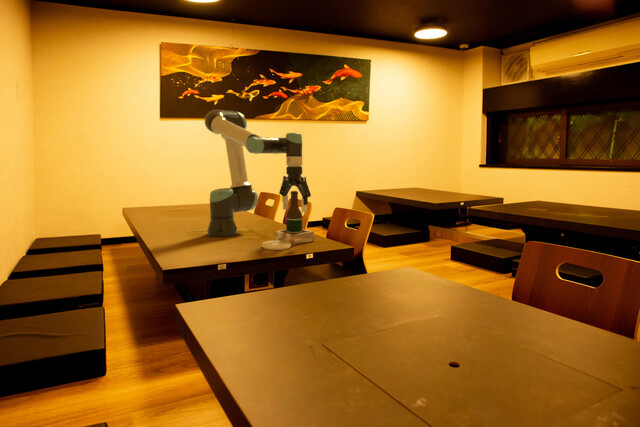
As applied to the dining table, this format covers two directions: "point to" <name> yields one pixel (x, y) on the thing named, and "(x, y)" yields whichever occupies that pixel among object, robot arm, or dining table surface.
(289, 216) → the beer bottle
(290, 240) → the box
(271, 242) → the ceramic plate
